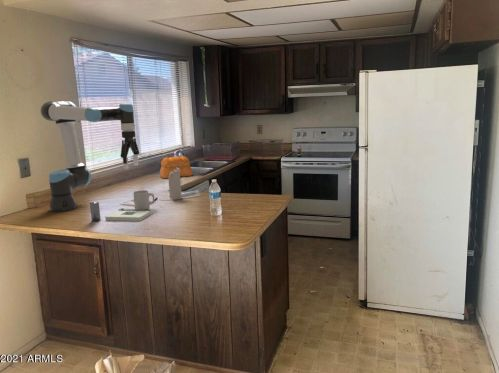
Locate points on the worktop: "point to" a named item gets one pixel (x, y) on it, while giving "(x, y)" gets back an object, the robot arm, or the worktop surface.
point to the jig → (129, 214)
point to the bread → (175, 166)
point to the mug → (142, 199)
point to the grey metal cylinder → (95, 211)
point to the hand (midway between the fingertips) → (131, 167)
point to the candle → (174, 185)
